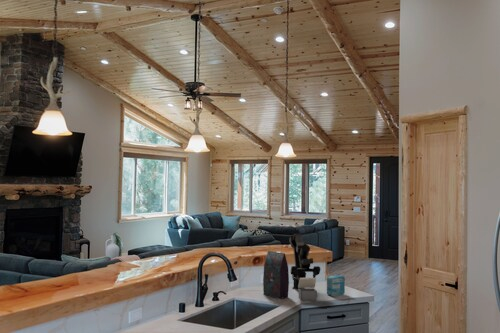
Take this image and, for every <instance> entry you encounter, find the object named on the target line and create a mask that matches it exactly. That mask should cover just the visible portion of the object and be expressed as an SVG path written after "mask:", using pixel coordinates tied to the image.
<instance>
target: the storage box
mask: <svg viewBox="0 0 500 333" xmlns="http://www.w3.org/2000/svg"><path fill="white" fill-rule="evenodd" d="M298 299H299V300H300V302H318V290H317V289H316V288H315V287H314V288H299V289H298Z"/></svg>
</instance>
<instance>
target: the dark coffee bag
mask: <svg viewBox="0 0 500 333" xmlns="http://www.w3.org/2000/svg"><path fill="white" fill-rule="evenodd" d="M289 272H290V271H289V265H288V261H287V257H286V253H284V252H279V251H272V250H267V254H266V257H265V260H264V265H263V275H262V276H263V278H262V279H263V280H262V282H263V283H262V284H263V285H262V287H263V289H262V290H263V295H265V296H268V297H272V298H275V299H279V300H281V299H282V300H283V299H286V298H289V288H290V285H289V284H290V280H289V279H290V275H289Z"/></svg>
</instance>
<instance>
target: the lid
mask: <svg viewBox="0 0 500 333" xmlns="http://www.w3.org/2000/svg"><path fill="white" fill-rule="evenodd" d="M316 282H317V277H315V278H313V277H306V278H300V279H299V284H298V288H314V289H315V287H316Z"/></svg>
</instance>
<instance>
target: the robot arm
mask: <svg viewBox="0 0 500 333" xmlns="http://www.w3.org/2000/svg"><path fill="white" fill-rule="evenodd" d="M302 236H303V235H302V234H301V233H294V234H293V235H291V236H290V237H289V244H290V247H291V248H292V249H293V259H294V265H292V266H291V267H290V275H291V279H292V281H293V287H292V289H294V290H299V288H298V284H299V279H300V278H307V273H312V278H317V277H316V276H318V275H319V274H320V273H321V267H320V266H319V265H314V266H313V268H311V264H312V265H313V264H314V258H313V257H311V258H308V256H309V255H310V250H311V247H310V246H309V245H308V244H307V243H304V241H303V238H302Z"/></svg>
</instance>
